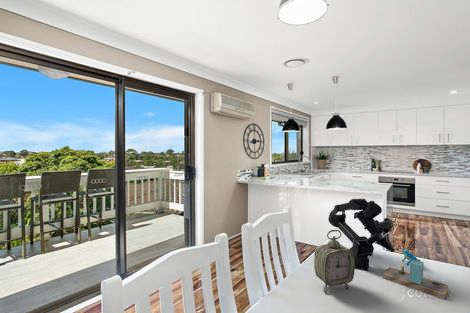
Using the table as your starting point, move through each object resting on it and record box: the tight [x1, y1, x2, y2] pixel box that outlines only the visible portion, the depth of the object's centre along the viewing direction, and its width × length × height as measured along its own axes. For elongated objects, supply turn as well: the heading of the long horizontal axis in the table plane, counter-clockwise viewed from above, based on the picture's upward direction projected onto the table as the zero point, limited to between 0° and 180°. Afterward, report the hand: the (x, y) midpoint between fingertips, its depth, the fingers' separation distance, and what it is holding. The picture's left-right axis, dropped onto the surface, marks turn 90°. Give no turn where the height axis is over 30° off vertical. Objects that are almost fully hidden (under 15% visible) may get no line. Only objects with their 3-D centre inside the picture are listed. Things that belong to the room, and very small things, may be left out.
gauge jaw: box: [408, 259, 425, 285], centre depth 108 cm, size 4×7×8 cm, turn 134°
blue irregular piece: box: [401, 249, 421, 266], centre depth 128 cm, size 11×6×10 cm
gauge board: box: [382, 265, 449, 300], centre depth 110 cm, size 22×10×5 cm, turn 44°
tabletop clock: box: [313, 229, 356, 294], centre depth 106 cm, size 14×9×25 cm, turn 105°
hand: (393, 251), depth 114 cm, fingers closed
